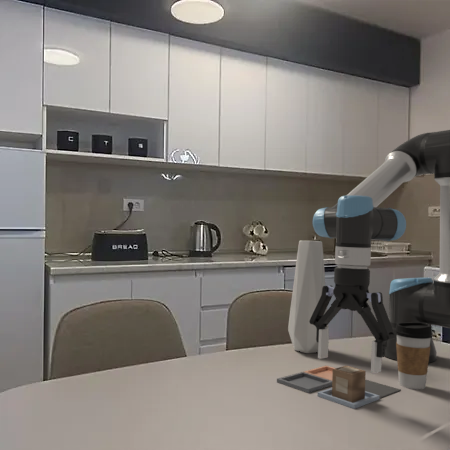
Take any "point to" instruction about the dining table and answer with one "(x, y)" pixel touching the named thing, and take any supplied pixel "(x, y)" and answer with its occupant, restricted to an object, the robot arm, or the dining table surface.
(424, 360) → the coffee cup
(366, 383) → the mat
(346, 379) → the letter block
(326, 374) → the tray terracotta
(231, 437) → the dining table surface
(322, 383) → the tray charcoal
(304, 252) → the vase
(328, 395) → the tray slate
